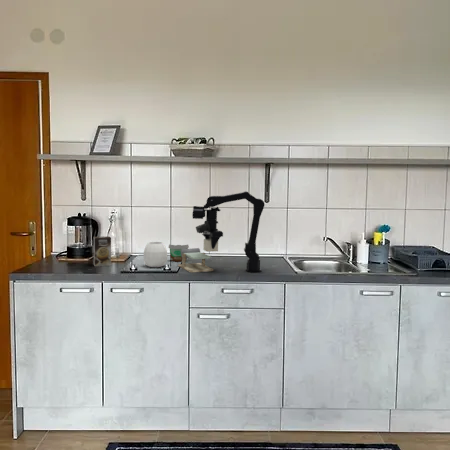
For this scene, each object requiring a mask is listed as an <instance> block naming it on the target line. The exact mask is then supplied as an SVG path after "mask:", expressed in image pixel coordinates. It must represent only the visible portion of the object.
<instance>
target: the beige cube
mask: <svg viewBox="0 0 450 450" xmlns="http://www.w3.org/2000/svg"><path fill="white" fill-rule="evenodd" d="M202 250H203V251H205V252H210V253H211V252H218V251H219V241H218V242H217V244H216V246H215V248H214V249H212V245H211V239H205V238H204V239H203V249H202Z"/></svg>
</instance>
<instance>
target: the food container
mask: <svg viewBox="0 0 450 450" xmlns="http://www.w3.org/2000/svg"><path fill="white" fill-rule="evenodd" d="M167 248H168V249H169V257H170V261H171V262H174V263H182V257H181V249H190V247H189V244H177V245H175V244H170V243H169V244H168V247H167ZM185 262H187V258H186V259H185Z"/></svg>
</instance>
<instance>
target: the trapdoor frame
mask: <svg viewBox="0 0 450 450" xmlns="http://www.w3.org/2000/svg"><path fill="white" fill-rule="evenodd" d="M202 253H203V254H206V253H205V252H202ZM185 259H186V260H187V258H186V254H182V262H181V263H180V264H177V265H178V267H179V268H181V269H183V270H185V271H187V272H189V273H201V272H214V268H212V267H209V266H207V265H206V259H201V262H195V263H193V262H192V263H186V261H185Z"/></svg>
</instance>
